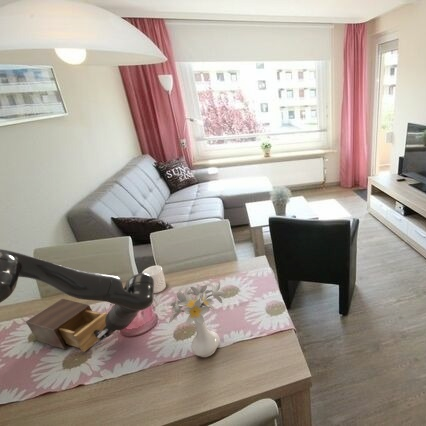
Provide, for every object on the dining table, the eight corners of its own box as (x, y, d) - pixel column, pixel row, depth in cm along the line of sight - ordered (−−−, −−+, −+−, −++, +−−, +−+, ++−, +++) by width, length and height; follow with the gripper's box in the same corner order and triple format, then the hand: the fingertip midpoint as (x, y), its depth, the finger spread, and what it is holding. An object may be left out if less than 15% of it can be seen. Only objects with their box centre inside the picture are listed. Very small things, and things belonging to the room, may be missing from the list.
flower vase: (239, 334, 108) (228, 280, 98) (202, 377, 93) (184, 318, 83) (212, 324, 113) (199, 271, 103) (173, 363, 98) (152, 305, 88)
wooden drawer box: (98, 323, 116) (89, 305, 112) (64, 349, 105) (53, 330, 101) (71, 316, 120) (62, 298, 116) (37, 340, 109) (25, 321, 105)
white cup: (164, 280, 139) (159, 263, 135) (169, 288, 134) (163, 270, 130) (146, 288, 135) (140, 270, 131) (150, 296, 129) (144, 278, 125)
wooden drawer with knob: (115, 328, 112) (109, 313, 109) (86, 353, 102) (78, 336, 99) (88, 321, 116) (80, 305, 113) (57, 343, 106) (48, 328, 103)
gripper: (131, 292, 100) (116, 313, 109) (94, 320, 89) (80, 341, 97) (147, 307, 101) (131, 326, 110) (113, 337, 90) (97, 355, 98)
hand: (107, 333), depth 103 cm, fingers closed
